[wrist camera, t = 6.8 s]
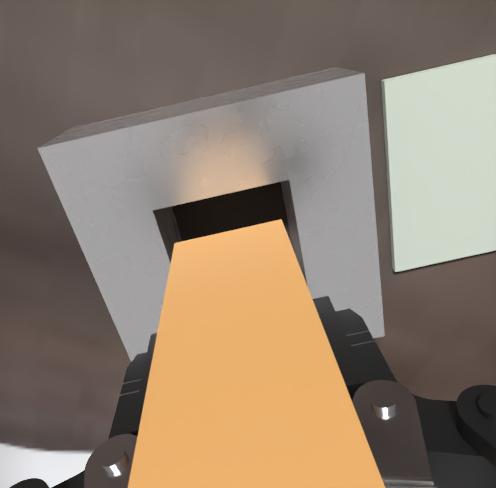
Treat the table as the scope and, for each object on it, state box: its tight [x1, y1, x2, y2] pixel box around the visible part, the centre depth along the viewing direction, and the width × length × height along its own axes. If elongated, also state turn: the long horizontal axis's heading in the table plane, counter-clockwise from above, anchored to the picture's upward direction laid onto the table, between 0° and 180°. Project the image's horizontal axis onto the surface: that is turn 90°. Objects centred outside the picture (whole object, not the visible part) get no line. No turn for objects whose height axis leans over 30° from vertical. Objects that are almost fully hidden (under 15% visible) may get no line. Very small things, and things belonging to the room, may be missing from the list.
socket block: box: [38, 67, 385, 362], centre depth 19 cm, size 12×12×4 cm
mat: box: [381, 54, 496, 272], centre depth 21 cm, size 10×10×1 cm
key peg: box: [128, 219, 385, 488], centre depth 11 cm, size 4×4×12 cm
